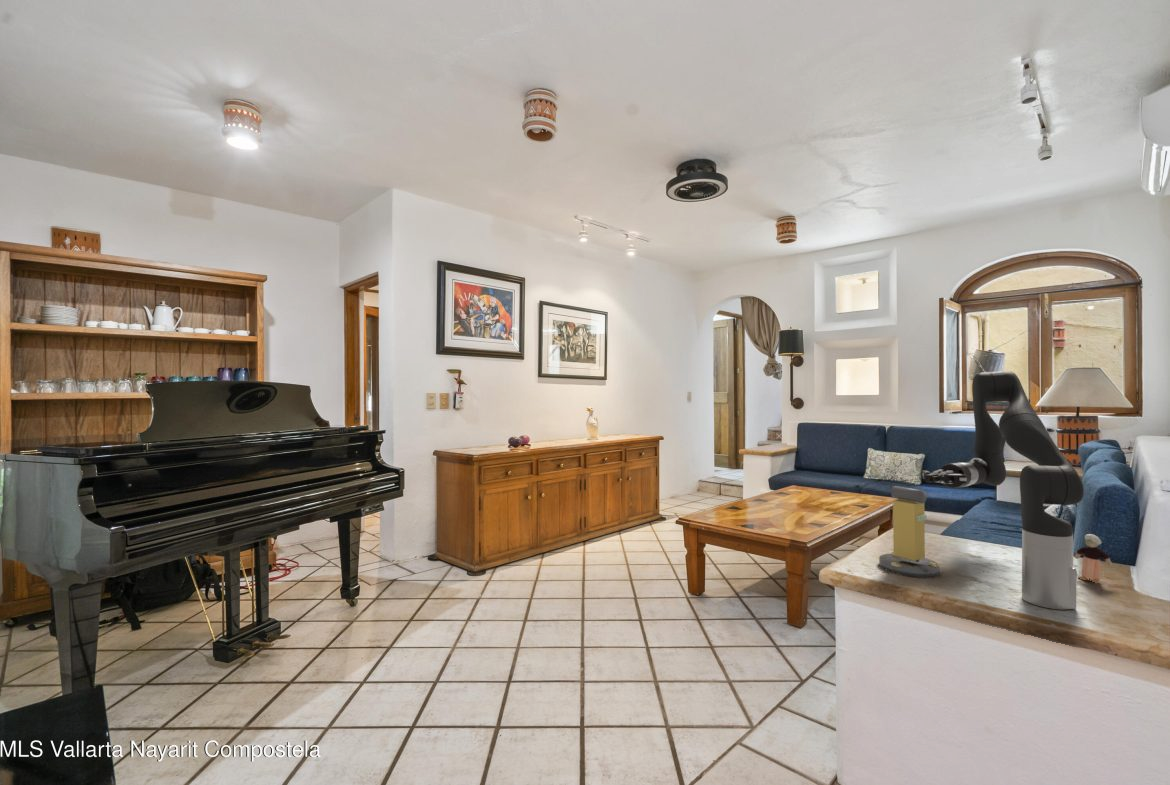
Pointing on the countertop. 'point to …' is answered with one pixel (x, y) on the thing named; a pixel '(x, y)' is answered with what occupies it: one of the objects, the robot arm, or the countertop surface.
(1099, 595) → the countertop surface
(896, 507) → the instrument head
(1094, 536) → the grandmother figurine
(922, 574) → the levelling base
